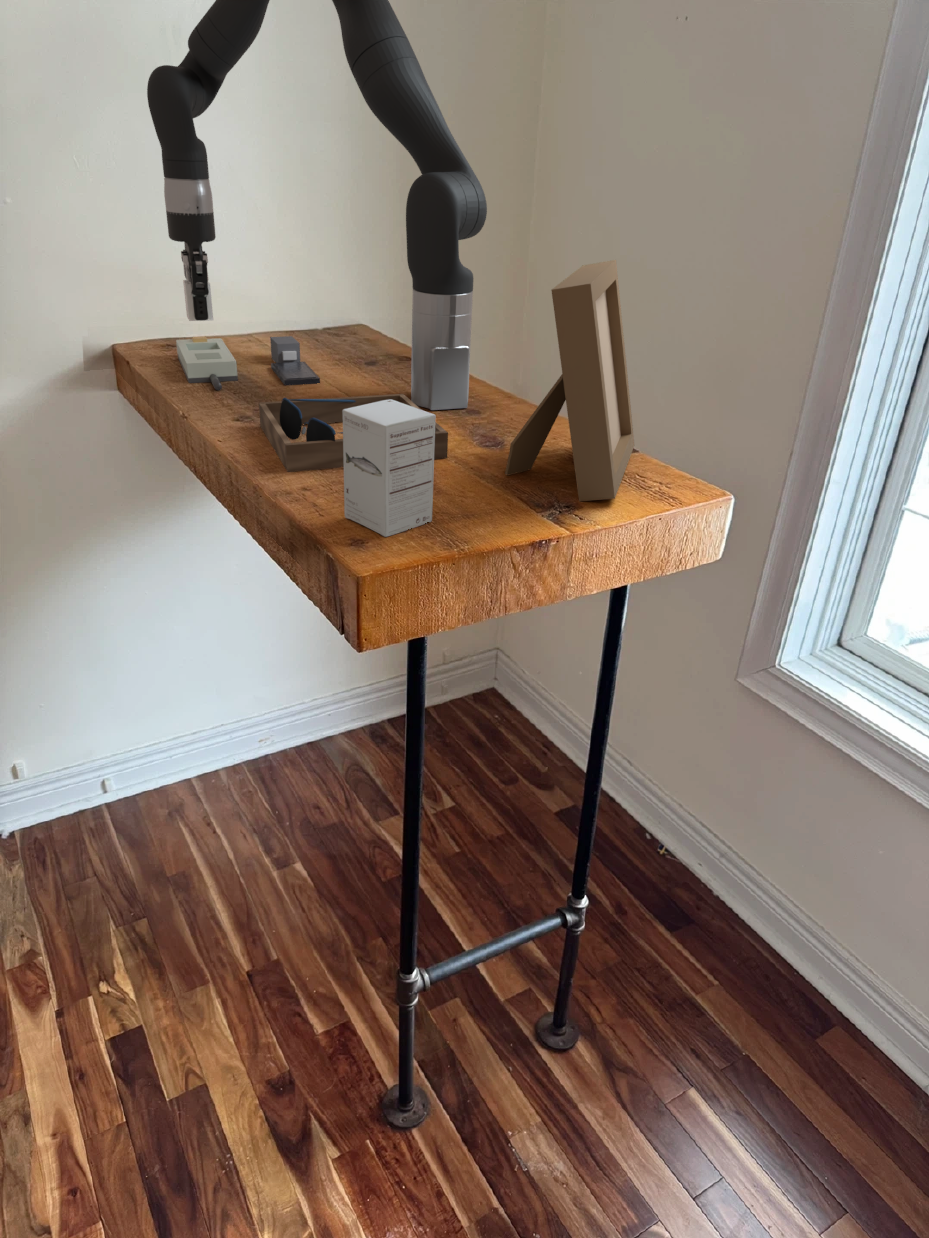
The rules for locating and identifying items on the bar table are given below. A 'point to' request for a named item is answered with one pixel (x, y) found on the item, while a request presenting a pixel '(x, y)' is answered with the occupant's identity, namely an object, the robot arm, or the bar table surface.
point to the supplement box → (388, 466)
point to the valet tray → (325, 451)
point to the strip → (206, 361)
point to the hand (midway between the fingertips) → (200, 316)
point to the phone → (295, 373)
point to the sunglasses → (315, 428)
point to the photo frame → (586, 385)
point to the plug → (285, 349)
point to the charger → (190, 301)
